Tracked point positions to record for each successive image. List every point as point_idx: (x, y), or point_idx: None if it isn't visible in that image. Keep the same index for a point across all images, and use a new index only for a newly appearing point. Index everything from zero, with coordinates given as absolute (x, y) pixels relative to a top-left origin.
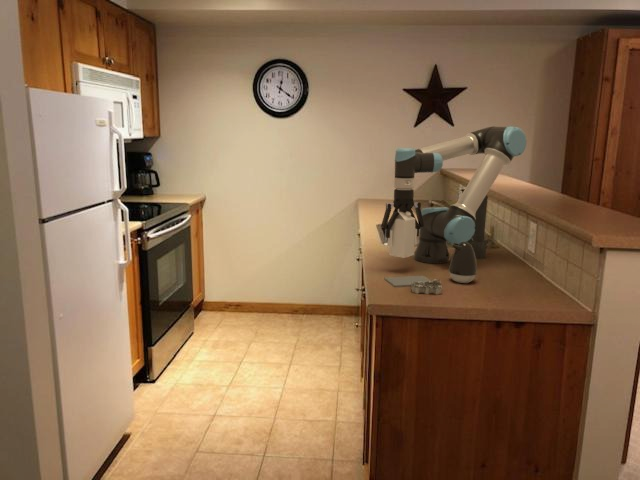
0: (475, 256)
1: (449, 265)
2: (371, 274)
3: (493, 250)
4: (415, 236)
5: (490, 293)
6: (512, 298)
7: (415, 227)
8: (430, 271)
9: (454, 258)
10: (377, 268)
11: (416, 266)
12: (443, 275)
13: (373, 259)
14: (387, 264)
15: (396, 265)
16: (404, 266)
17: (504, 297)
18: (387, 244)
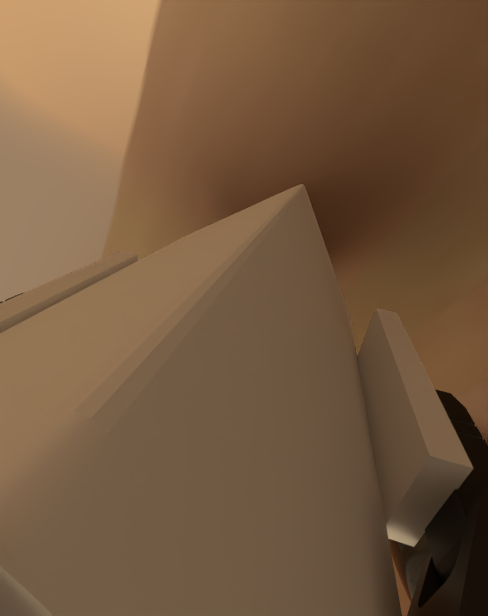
0: None
1: None
2: (115, 236)
3: None
4: (370, 434)
5: (393, 563)
6: (410, 602)
7: (447, 526)
8: (441, 303)
9: (404, 578)
10: (185, 128)
11: (464, 166)
12: (437, 383)
13: None
14: (302, 31)
15: (347, 87)
16: (382, 137)
17: (397, 590)
18: (117, 252)
